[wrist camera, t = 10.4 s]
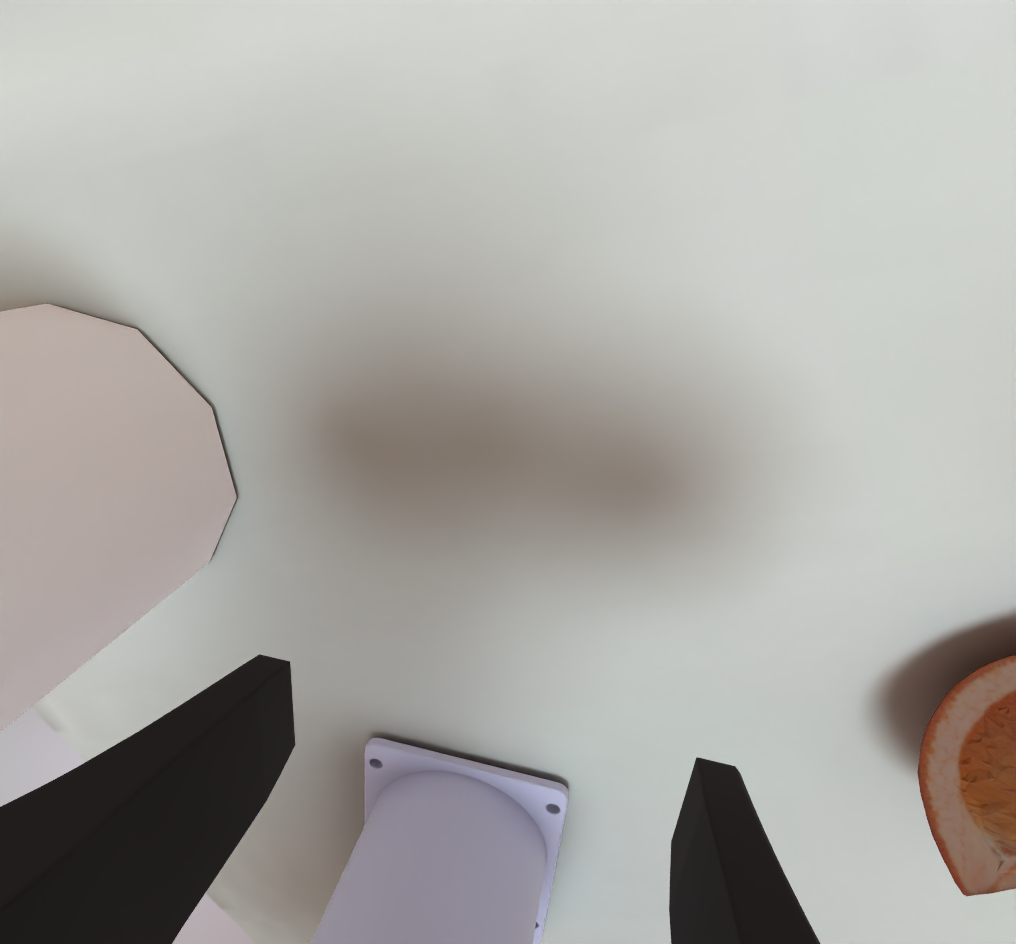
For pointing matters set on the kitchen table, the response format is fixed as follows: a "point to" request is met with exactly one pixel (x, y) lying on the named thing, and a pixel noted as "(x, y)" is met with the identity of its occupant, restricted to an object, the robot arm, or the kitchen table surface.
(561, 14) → the kitchen table surface
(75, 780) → the robot arm
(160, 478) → the toilet paper
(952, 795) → the fruit slice
